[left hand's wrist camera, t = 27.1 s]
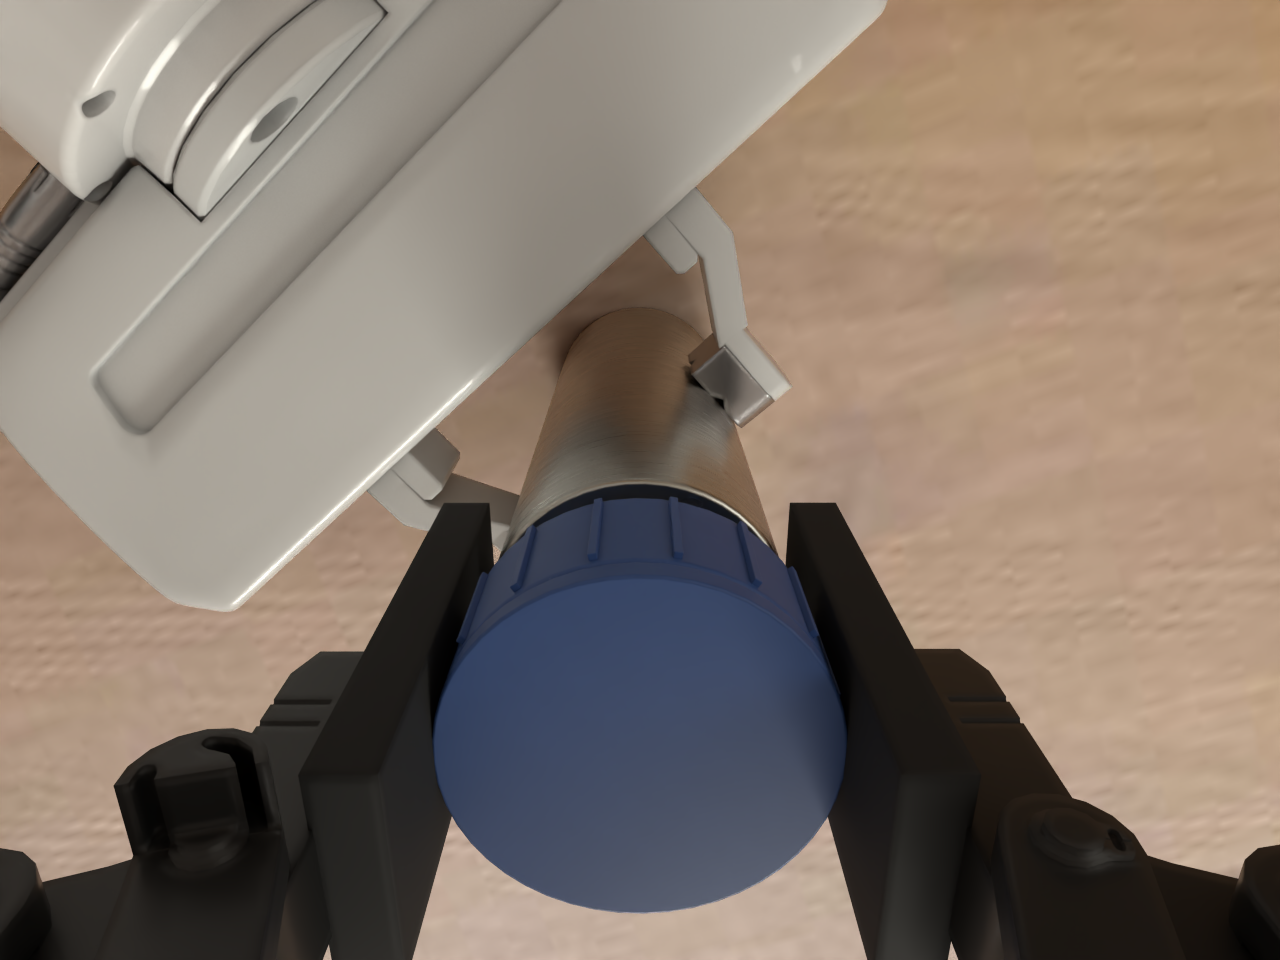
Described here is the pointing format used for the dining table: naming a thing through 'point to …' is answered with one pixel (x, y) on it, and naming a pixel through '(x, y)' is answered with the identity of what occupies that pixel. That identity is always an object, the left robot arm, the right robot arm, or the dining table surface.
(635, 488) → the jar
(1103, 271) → the dining table surface
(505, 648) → the lid
